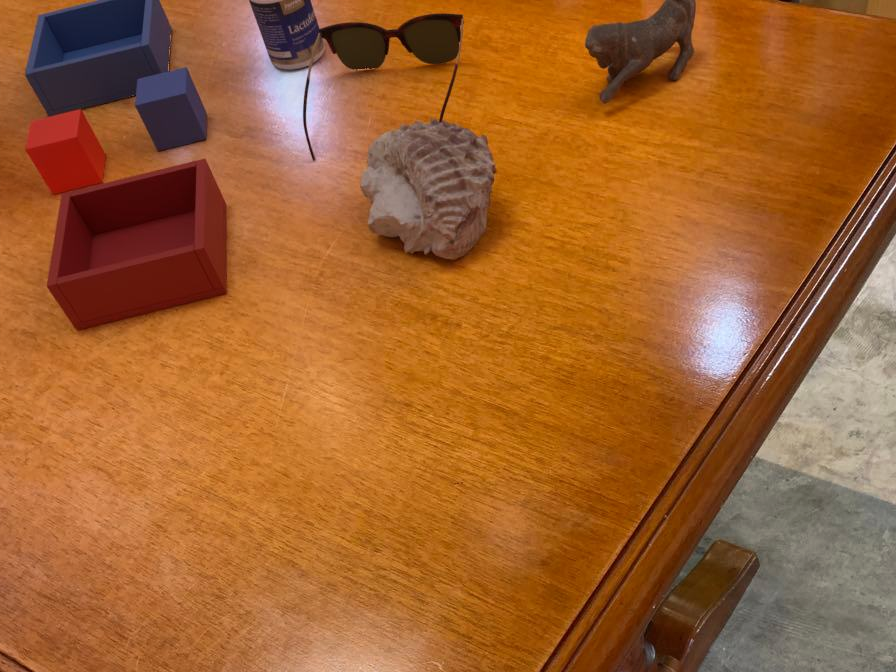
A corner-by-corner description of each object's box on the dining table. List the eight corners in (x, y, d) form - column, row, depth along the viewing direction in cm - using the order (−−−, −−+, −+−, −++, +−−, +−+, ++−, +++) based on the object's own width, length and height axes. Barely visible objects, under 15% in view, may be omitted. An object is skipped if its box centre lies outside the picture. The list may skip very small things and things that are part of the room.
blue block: (157, 151, 98) (134, 105, 94) (159, 125, 101) (137, 78, 97) (206, 139, 98) (185, 92, 94) (207, 113, 101) (186, 66, 97)
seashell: (326, 173, 86) (362, 62, 80) (421, 181, 92) (462, 78, 85) (398, 289, 80) (443, 179, 73) (495, 290, 86) (545, 189, 79)
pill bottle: (311, 73, 102) (276, -30, 94) (262, 70, 104) (223, -31, 96) (335, 42, 105) (303, -60, 97) (287, 40, 107) (252, -61, 99)
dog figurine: (673, 39, 96) (669, -44, 90) (713, 61, 93) (712, -23, 87) (569, 93, 93) (558, 12, 87) (607, 118, 90) (598, 35, 84)
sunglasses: (474, 59, 99) (463, 10, 95) (455, 162, 92) (442, 113, 87) (333, 72, 102) (316, 25, 98) (302, 173, 94) (282, 126, 90)
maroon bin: (76, 330, 83) (46, 286, 80) (88, 237, 91) (61, 193, 87) (226, 293, 83) (203, 247, 80) (226, 203, 91) (205, 157, 87)
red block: (52, 195, 96) (24, 149, 92) (57, 166, 99) (30, 121, 95) (102, 182, 96) (76, 136, 92) (106, 154, 99) (81, 108, 95)
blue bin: (48, 117, 105) (24, 74, 101) (60, 56, 112) (38, 14, 109) (168, 87, 105) (148, 44, 101) (172, 28, 112) (153, -14, 109)
